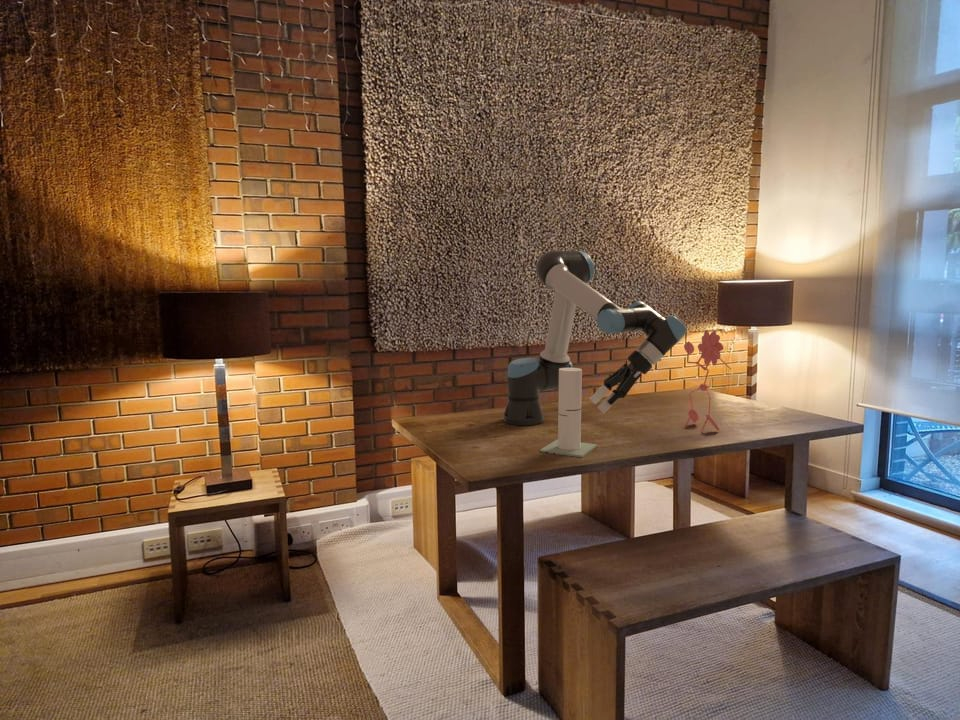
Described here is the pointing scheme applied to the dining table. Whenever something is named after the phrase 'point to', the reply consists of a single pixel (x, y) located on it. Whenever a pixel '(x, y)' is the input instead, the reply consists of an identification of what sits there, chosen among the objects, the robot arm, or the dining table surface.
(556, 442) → the rubber mat
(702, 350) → the figurine
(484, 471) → the dining table surface
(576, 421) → the cylindrical container
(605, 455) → the dining table surface
